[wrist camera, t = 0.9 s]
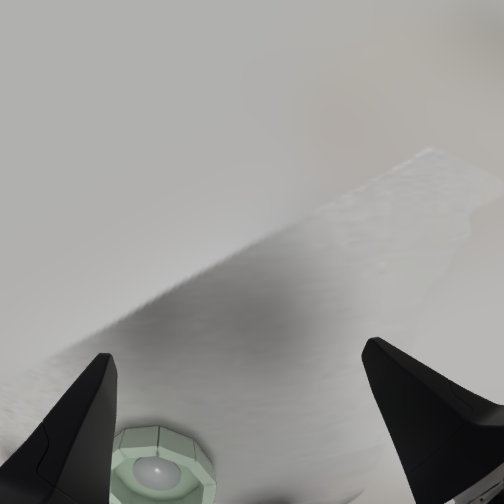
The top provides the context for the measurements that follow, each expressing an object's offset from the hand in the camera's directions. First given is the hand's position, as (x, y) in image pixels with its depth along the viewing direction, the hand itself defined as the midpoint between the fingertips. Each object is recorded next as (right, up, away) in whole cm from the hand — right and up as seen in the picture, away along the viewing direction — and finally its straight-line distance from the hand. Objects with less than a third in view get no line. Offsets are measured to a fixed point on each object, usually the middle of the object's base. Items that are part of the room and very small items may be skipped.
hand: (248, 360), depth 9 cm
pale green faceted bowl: (-9, -16, +11) cm, 21 cm away
